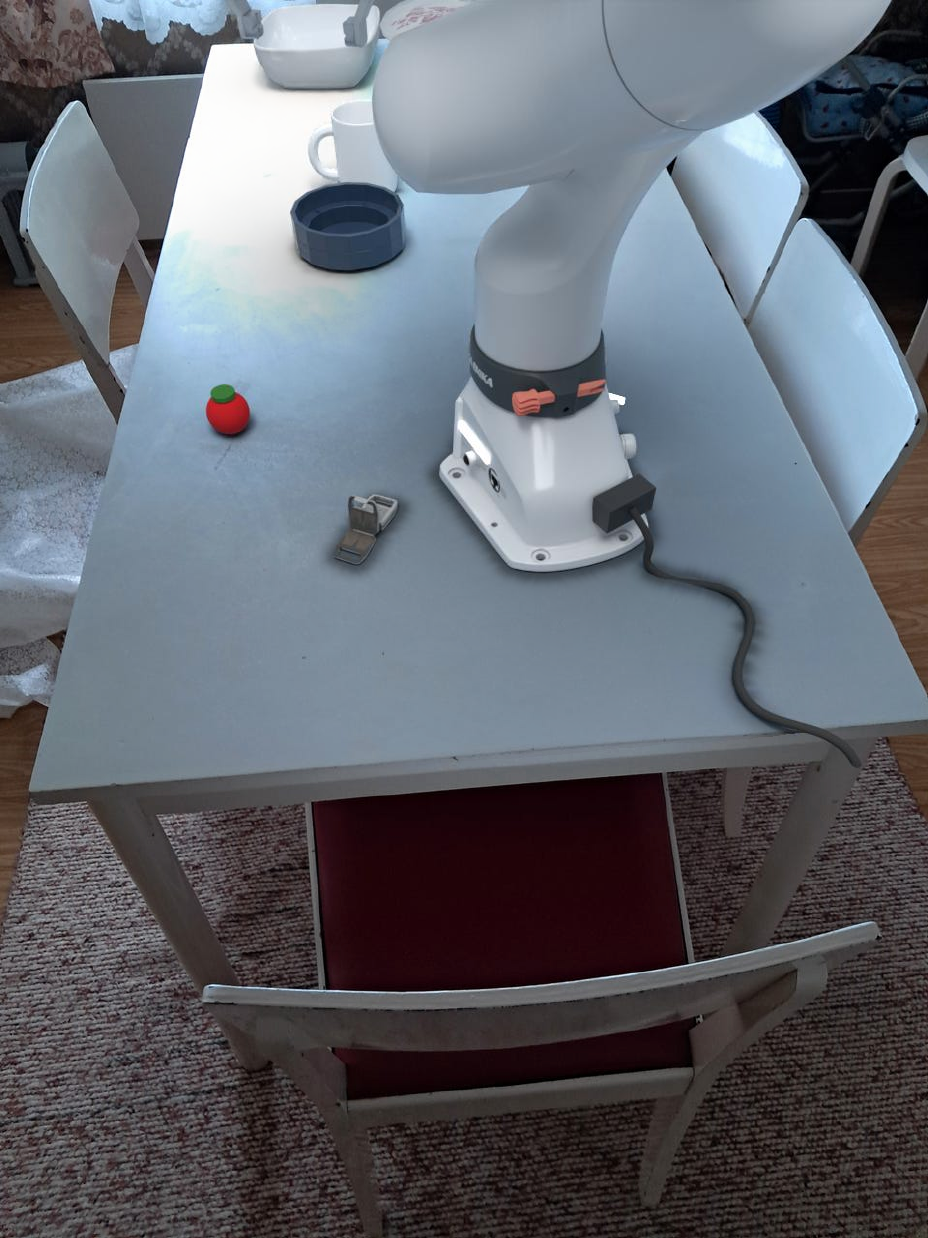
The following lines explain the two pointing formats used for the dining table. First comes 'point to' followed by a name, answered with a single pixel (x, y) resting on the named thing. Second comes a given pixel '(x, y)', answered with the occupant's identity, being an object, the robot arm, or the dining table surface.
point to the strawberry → (227, 410)
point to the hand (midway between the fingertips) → (304, 40)
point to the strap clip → (365, 525)
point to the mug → (353, 147)
